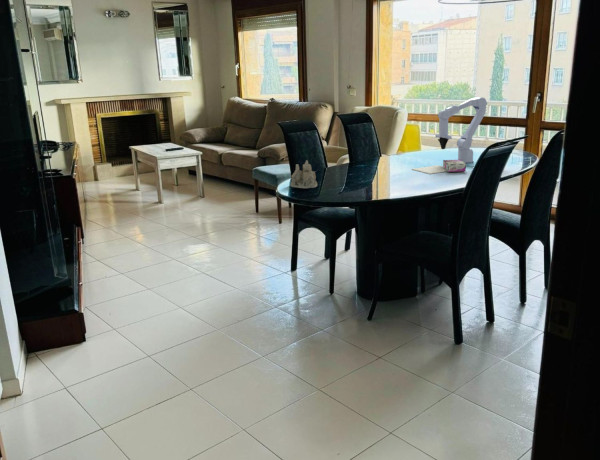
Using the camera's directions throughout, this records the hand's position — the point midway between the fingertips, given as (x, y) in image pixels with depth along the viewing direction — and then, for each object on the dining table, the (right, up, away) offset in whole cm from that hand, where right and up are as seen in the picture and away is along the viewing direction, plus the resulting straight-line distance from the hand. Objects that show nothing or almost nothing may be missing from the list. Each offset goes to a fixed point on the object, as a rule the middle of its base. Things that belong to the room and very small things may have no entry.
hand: (443, 149), depth 366 cm
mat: (-10, -16, -15) cm, 24 cm away
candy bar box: (+2, -11, -13) cm, 17 cm away
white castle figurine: (-94, -28, -38) cm, 105 cm away
